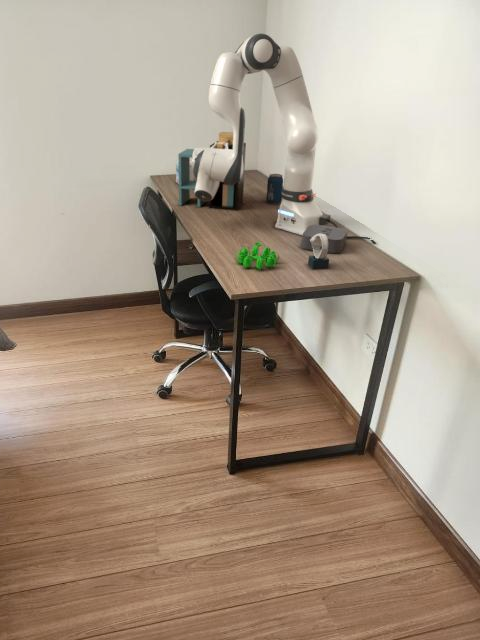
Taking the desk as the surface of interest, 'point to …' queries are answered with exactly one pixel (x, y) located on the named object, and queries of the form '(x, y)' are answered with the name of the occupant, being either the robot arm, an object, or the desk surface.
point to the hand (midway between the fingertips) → (221, 143)
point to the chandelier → (257, 257)
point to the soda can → (274, 188)
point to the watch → (319, 252)
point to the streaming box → (333, 234)
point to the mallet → (225, 139)
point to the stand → (186, 177)
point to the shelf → (229, 191)
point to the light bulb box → (178, 172)
